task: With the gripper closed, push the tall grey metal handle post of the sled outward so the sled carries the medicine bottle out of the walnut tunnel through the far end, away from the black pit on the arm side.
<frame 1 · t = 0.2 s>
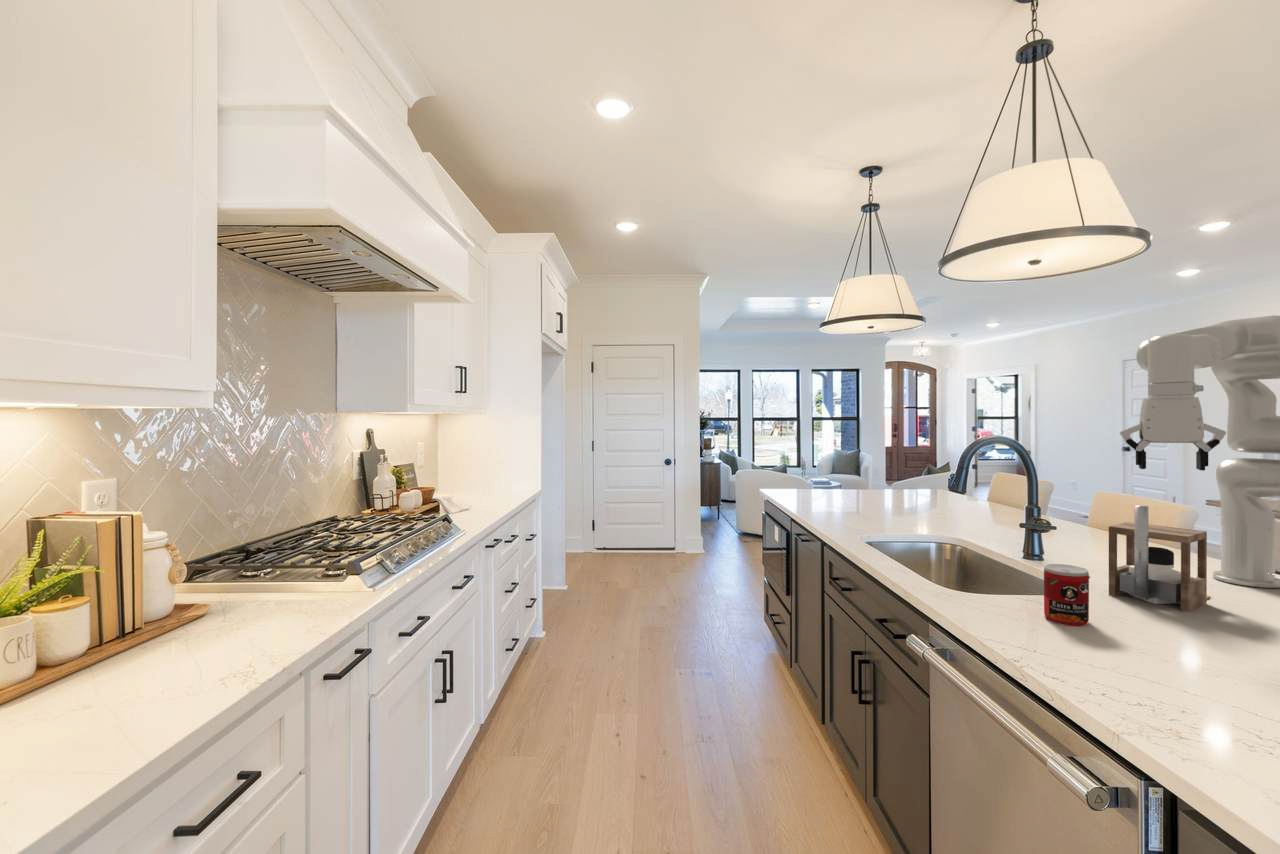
hand: (1171, 469, 127), 31 cm above the counter, tool pointing down, fingers open, 9 cm apart
walnut tunnel: (1156, 599, 135), on the counter
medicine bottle: (1156, 600, 135), on the counter
sled: (1152, 549, 133), point 12 cm above the counter, slide at 0.0 cm
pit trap: (1172, 593, 139), on the counter
canned food: (1066, 621, 122), on the counter
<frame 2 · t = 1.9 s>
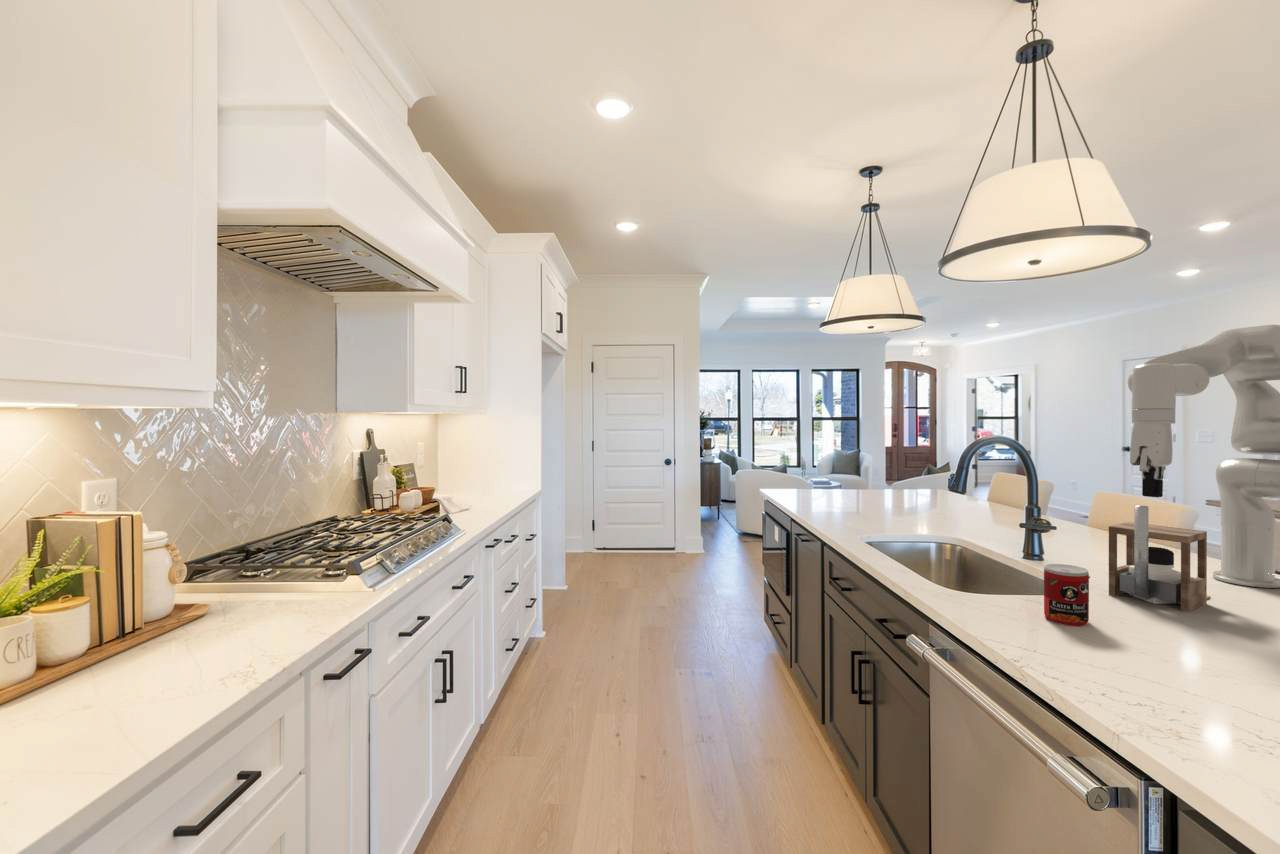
hand: (1152, 496, 133), 24 cm above the counter, tool pointing down, fingers closed
nothing on the counter moved.
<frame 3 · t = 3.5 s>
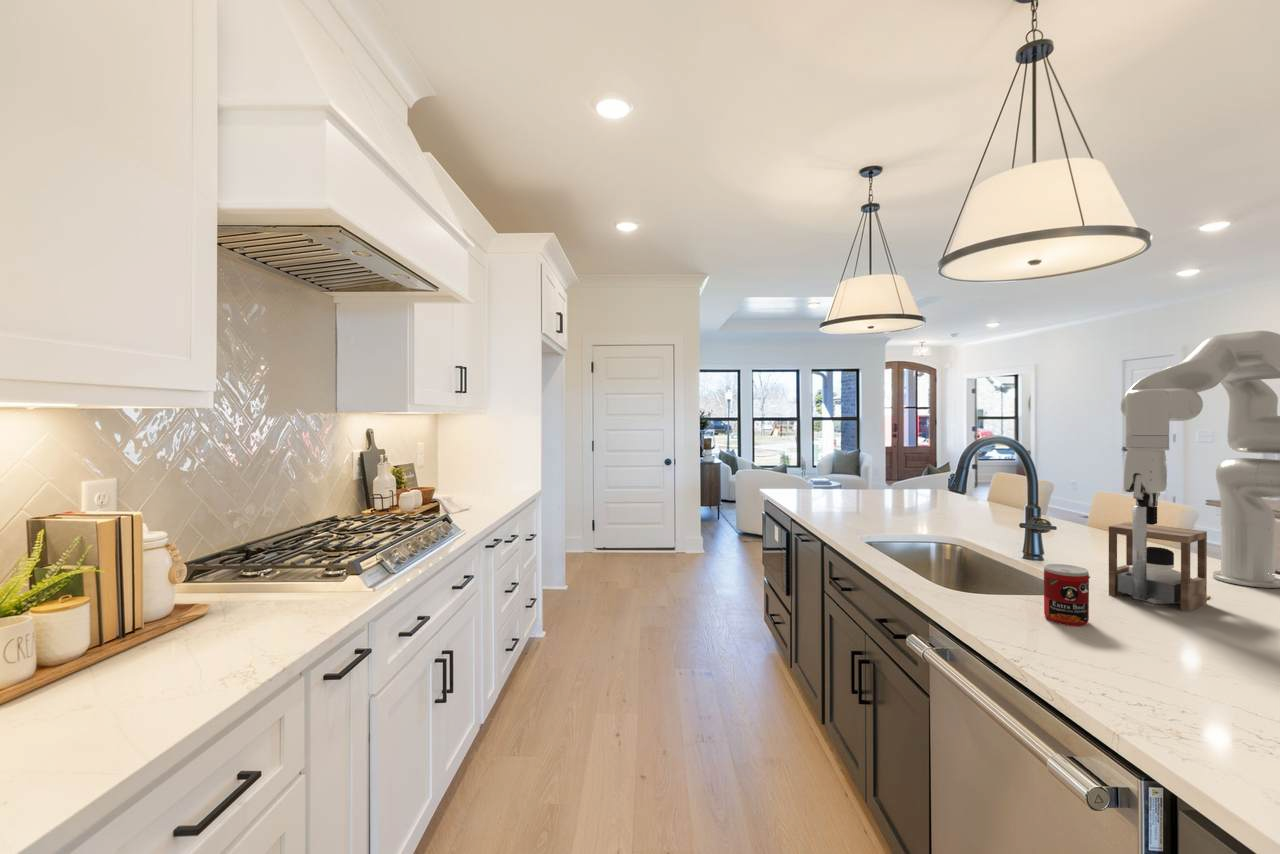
hand: (1146, 523, 132), 18 cm above the counter, tool pointing down, fingers closed
sled: (1150, 549, 133), point 12 cm above the counter, slide at 1.0 cm, touching gripper
everything else where it was.
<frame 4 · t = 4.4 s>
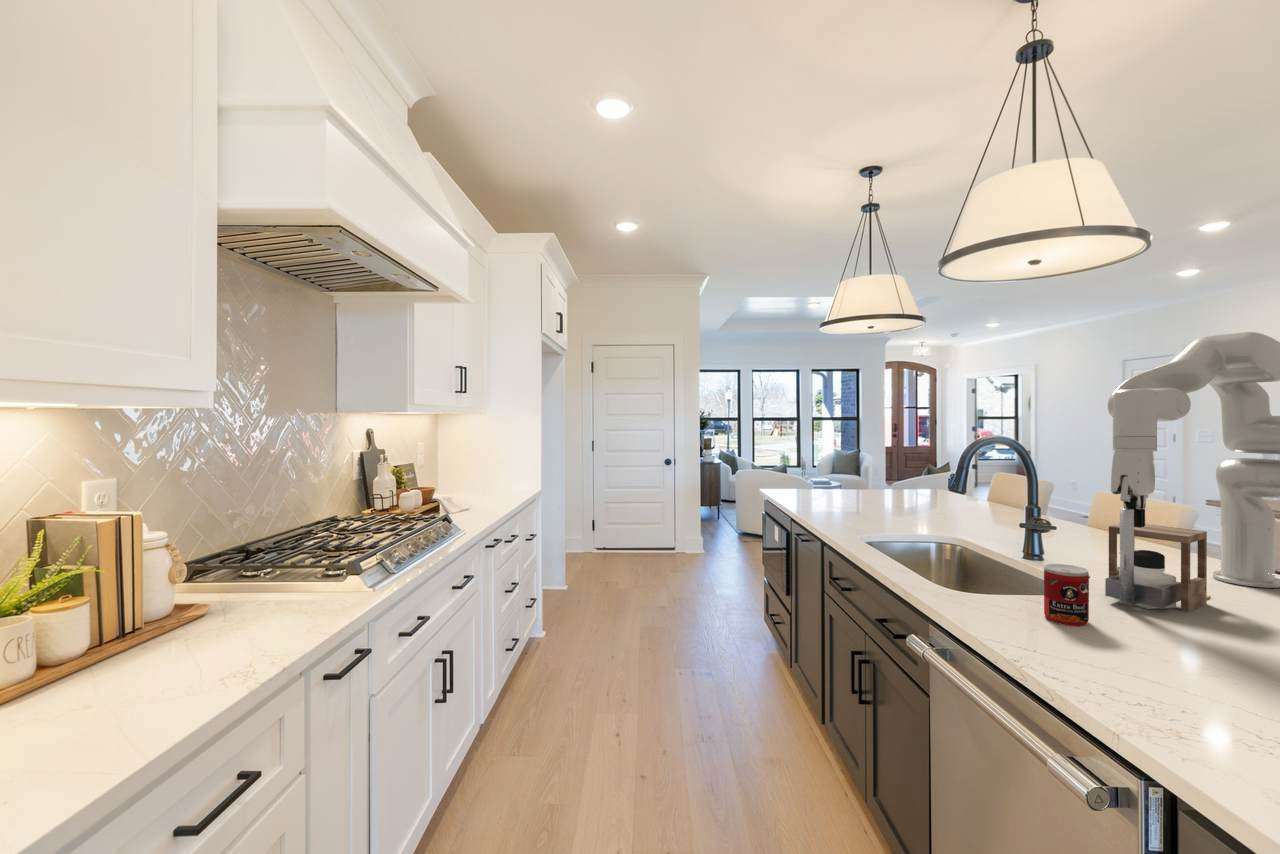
hand: (1134, 526, 129), 18 cm above the counter, tool pointing down, fingers closed
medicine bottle: (1146, 604, 131), on the counter, touching sled
sled: (1138, 553, 130), point 12 cm above the counter, slide at 7.3 cm, touching gripper, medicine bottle
everything else where it was.
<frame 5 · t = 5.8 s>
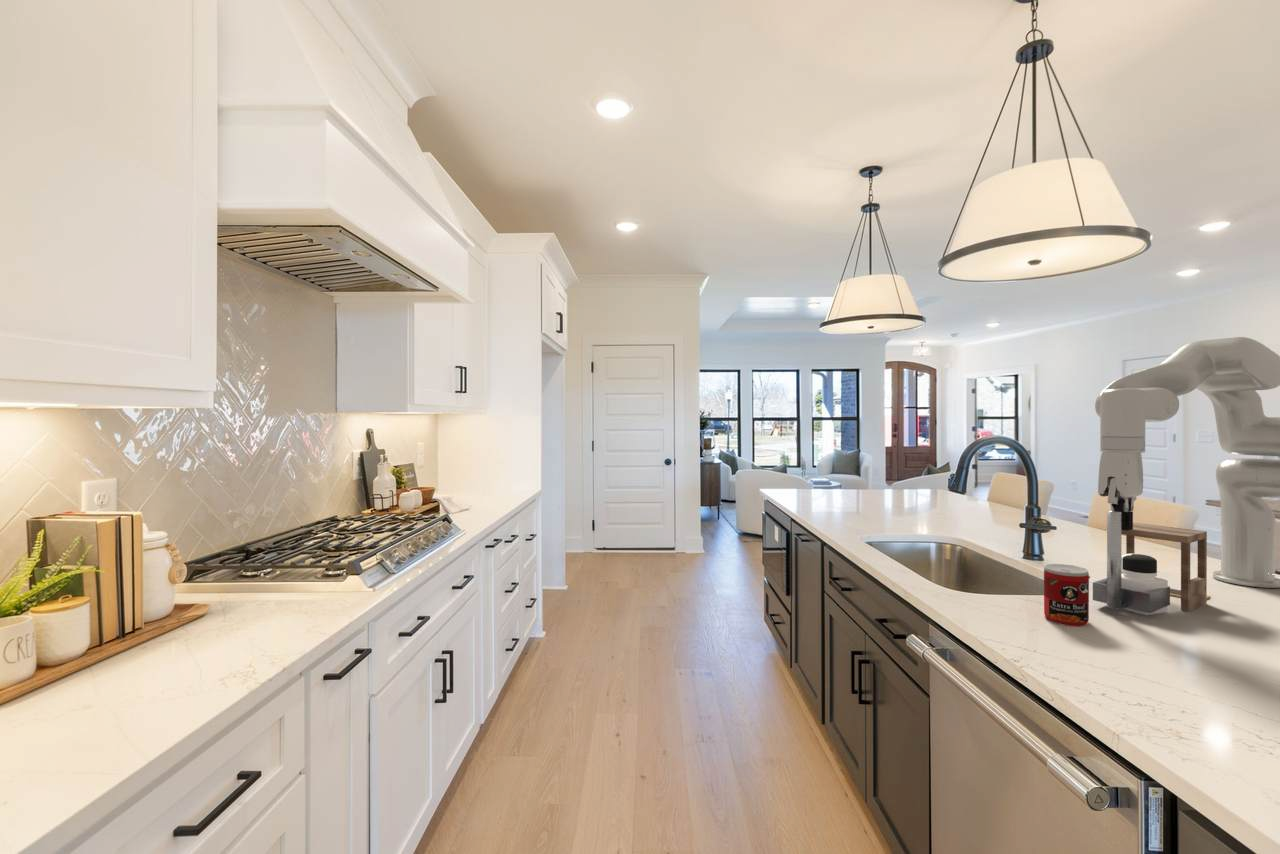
hand: (1122, 529, 126), 18 cm above the counter, tool pointing down, fingers closed
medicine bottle: (1138, 610, 128), on the counter
sled: (1126, 556, 127), point 12 cm above the counter, slide at 13.4 cm, touching gripper
everything else where it was.
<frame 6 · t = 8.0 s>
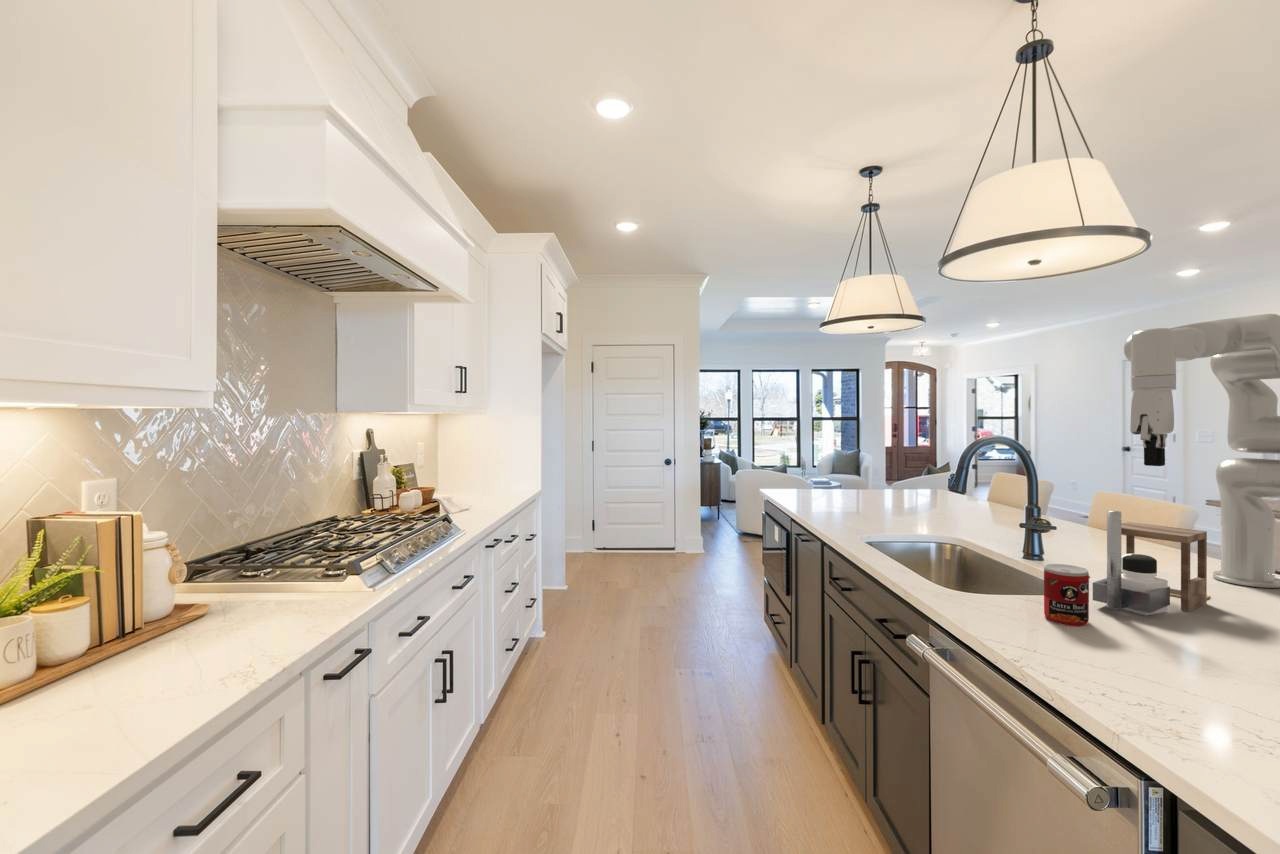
hand: (1154, 465, 130), 32 cm above the counter, tool pointing down, fingers closed
sled: (1126, 556, 127), point 12 cm above the counter, slide at 13.4 cm
everything else where it was.
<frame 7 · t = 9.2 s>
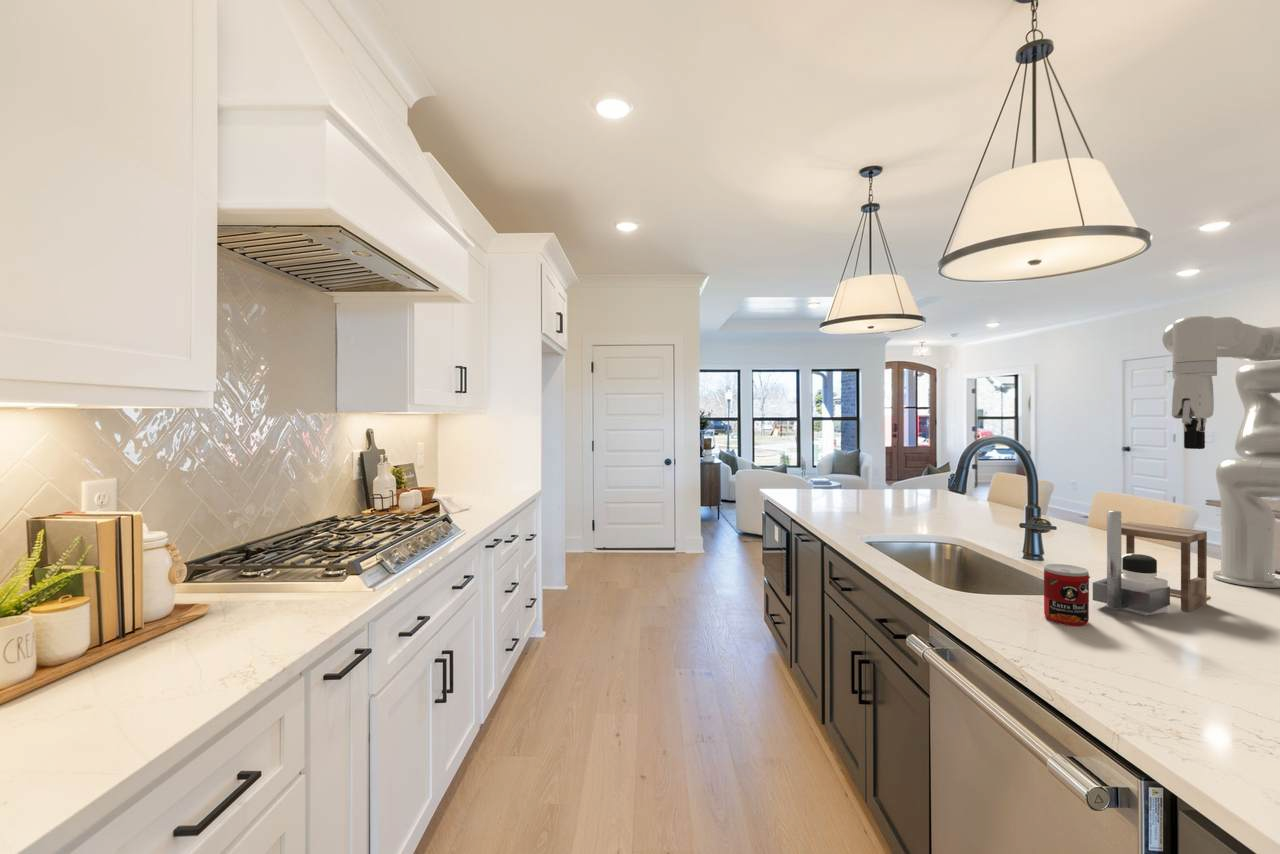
hand: (1194, 448, 135), 35 cm above the counter, tool pointing down, fingers closed
nothing on the counter moved.
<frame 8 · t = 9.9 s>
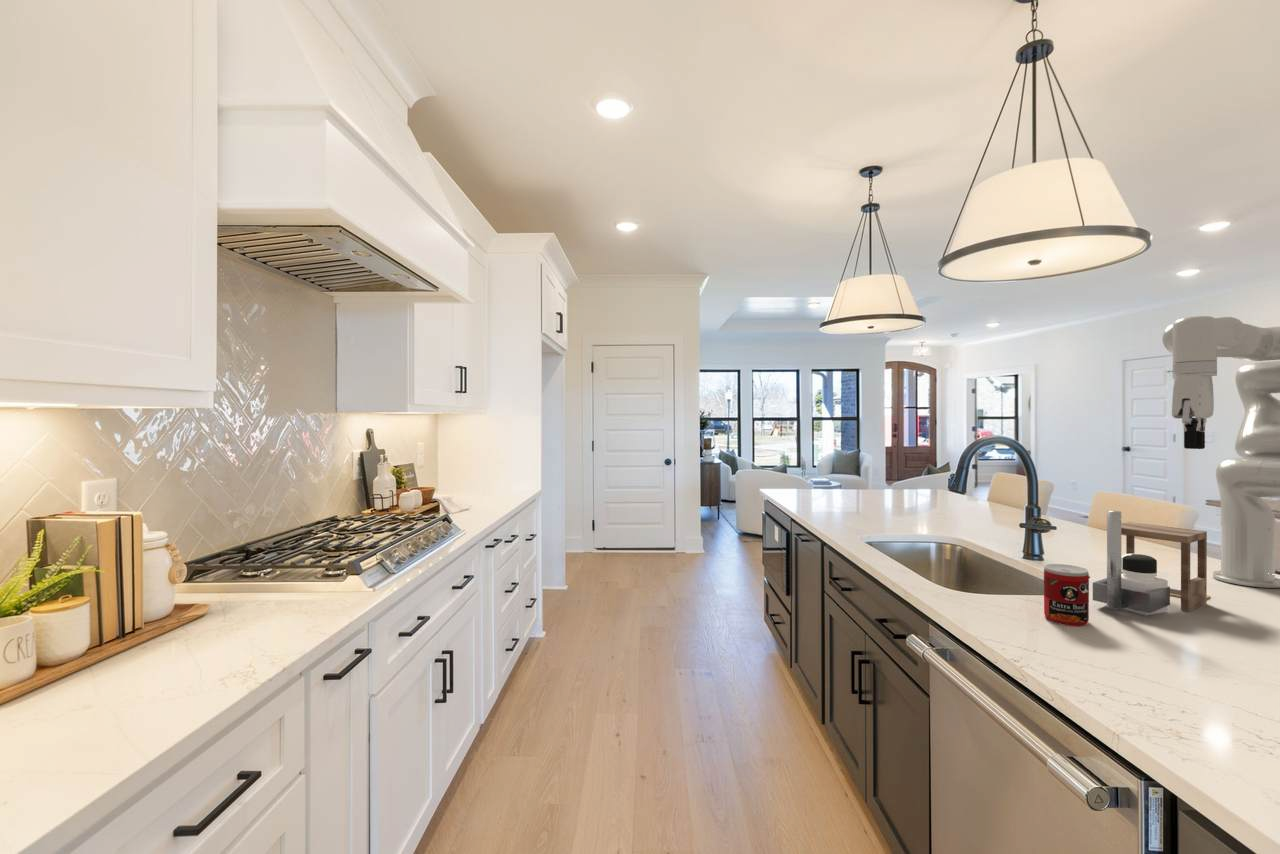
hand: (1194, 448, 135), 35 cm above the counter, tool pointing down, fingers closed
nothing on the counter moved.
at the end: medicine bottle 0.9 cm from the target spot, on the counter; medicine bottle tilted 0°; sled slide at 13.4 cm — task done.
